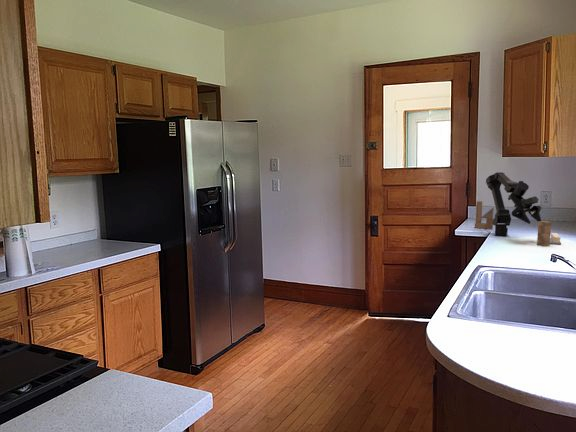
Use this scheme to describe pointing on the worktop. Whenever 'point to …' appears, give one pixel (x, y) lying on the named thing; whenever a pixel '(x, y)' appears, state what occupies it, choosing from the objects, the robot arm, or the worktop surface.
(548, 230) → the post
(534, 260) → the worktop surface
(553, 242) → the stand
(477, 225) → the wooden angular frame
